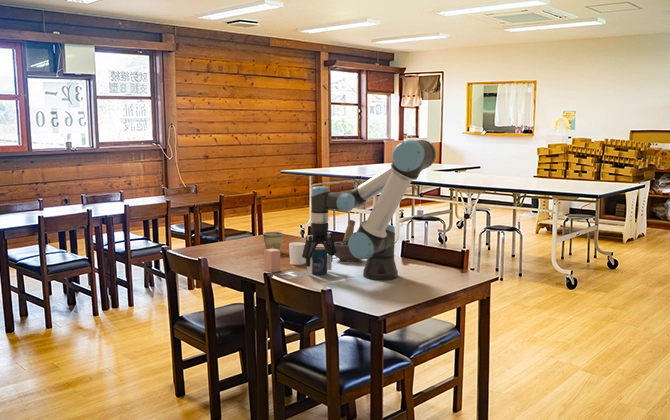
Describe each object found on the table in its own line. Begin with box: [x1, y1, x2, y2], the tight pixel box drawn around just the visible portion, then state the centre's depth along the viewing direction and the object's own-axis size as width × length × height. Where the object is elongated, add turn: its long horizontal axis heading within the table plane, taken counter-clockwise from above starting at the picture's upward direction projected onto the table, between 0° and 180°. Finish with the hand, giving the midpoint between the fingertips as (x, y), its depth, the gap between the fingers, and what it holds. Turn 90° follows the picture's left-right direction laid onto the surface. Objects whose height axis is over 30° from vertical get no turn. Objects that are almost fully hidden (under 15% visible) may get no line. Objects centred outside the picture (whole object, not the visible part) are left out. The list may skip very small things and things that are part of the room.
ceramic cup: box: [262, 231, 284, 251], centre depth 323 cm, size 13×10×10 cm
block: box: [263, 249, 281, 273], centre depth 279 cm, size 5×5×10 cm
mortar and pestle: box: [334, 219, 362, 262], centre depth 304 cm, size 15×17×20 cm
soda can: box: [311, 246, 328, 276], centre depth 274 cm, size 7×7×12 cm
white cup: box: [288, 241, 306, 266], centre depth 294 cm, size 8×8×10 cm
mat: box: [273, 269, 308, 280], centre depth 273 cm, size 12×11×1 cm
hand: (319, 271), depth 275 cm, fingers open, 11 cm apart
